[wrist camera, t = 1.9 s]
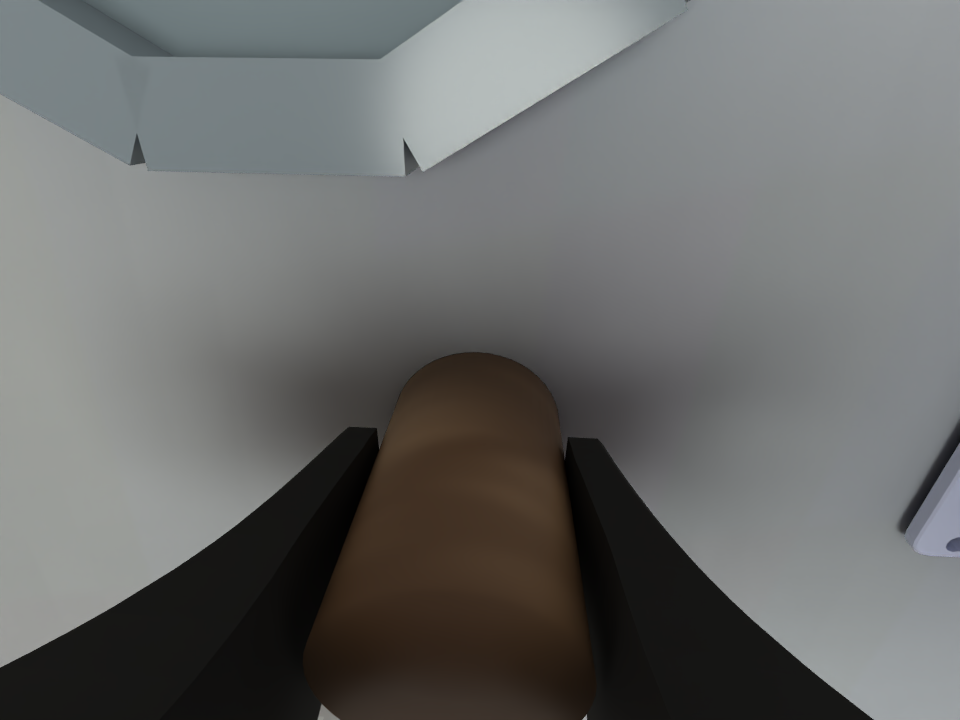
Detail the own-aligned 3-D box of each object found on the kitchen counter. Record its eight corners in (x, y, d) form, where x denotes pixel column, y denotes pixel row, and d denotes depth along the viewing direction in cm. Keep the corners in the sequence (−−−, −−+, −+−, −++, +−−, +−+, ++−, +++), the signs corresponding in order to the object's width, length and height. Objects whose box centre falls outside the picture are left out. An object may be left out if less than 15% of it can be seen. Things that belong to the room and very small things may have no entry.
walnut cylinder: (566, 355, 11) (617, 600, 6) (551, 489, 13) (579, 766, 8) (389, 349, 11) (277, 579, 6) (400, 482, 13) (324, 746, 8)
